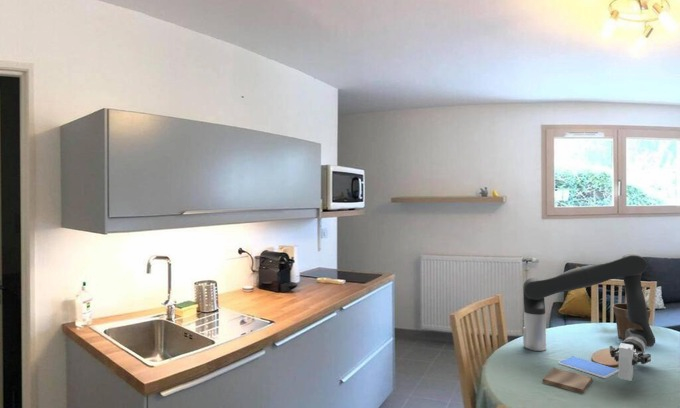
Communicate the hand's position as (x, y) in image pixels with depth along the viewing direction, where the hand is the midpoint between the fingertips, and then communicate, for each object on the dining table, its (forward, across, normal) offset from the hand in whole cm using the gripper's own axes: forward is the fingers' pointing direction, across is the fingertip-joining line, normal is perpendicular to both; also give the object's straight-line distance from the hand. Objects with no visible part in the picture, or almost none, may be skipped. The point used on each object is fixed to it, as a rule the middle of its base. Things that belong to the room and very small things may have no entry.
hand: (625, 360), depth 153 cm
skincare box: (-2, 0, +7) cm, 8 cm away
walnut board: (+8, -18, +11) cm, 22 cm away
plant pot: (-66, -8, +11) cm, 68 cm away
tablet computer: (-13, -15, +12) cm, 23 cm away
